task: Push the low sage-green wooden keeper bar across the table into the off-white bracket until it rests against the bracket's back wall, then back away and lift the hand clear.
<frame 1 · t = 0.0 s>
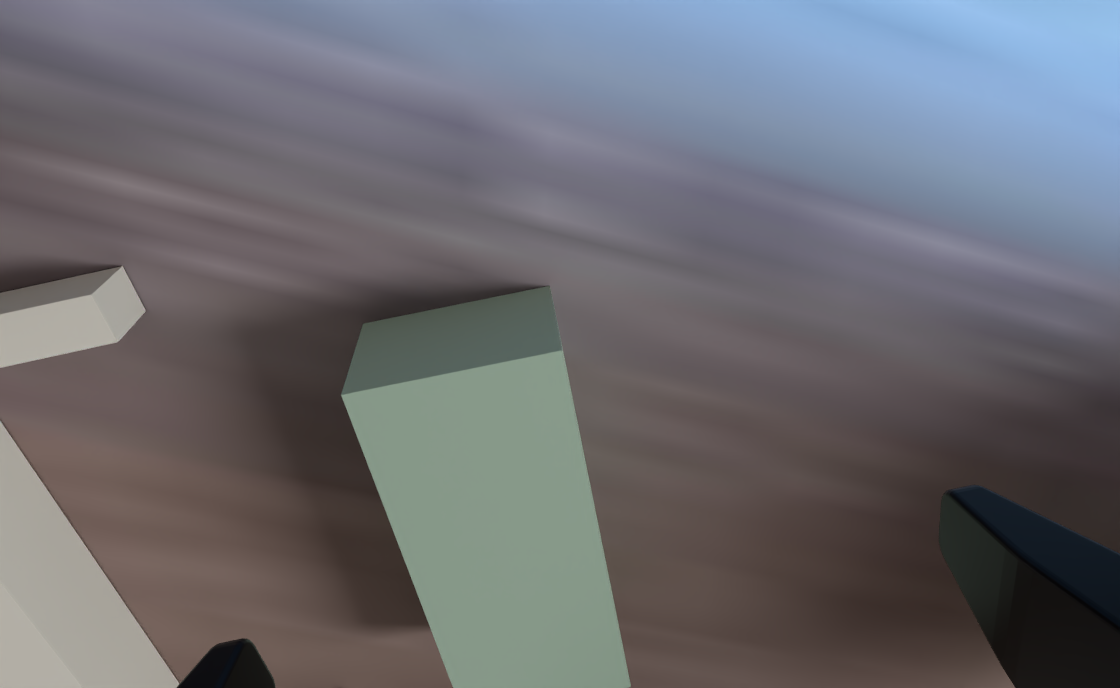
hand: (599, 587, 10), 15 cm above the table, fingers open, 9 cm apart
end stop: (57, 573, 27), on the table
keeper bar: (503, 471, 27), on the table
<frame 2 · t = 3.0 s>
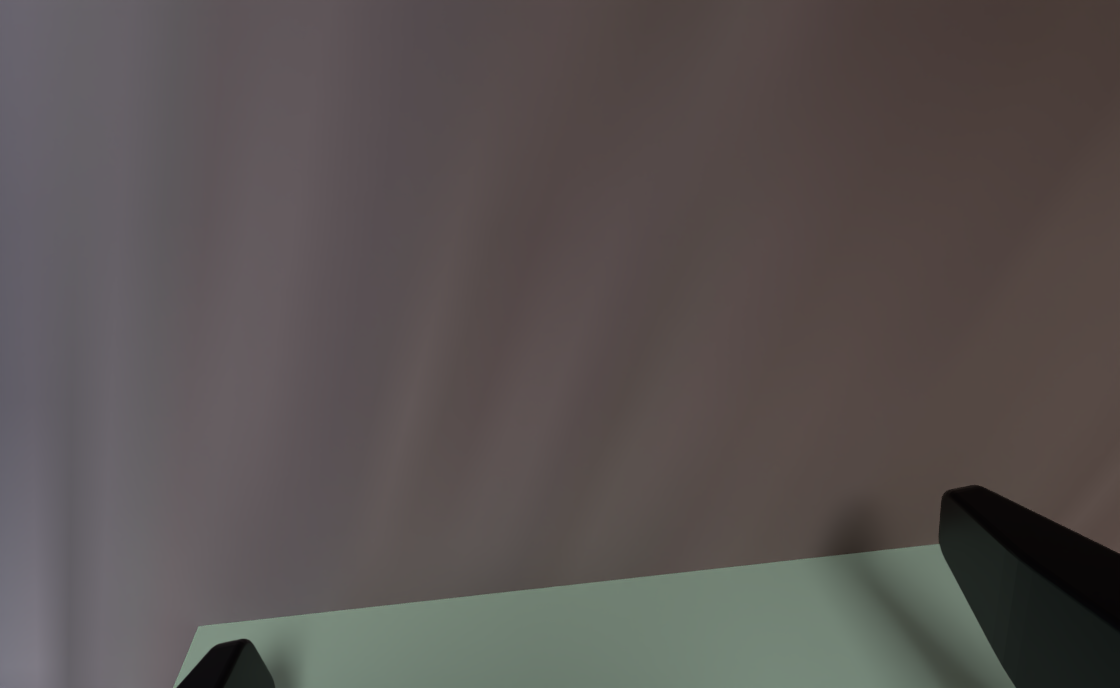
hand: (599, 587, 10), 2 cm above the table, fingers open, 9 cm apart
keeper bar: (630, 686, 14), on the table, touching gripper
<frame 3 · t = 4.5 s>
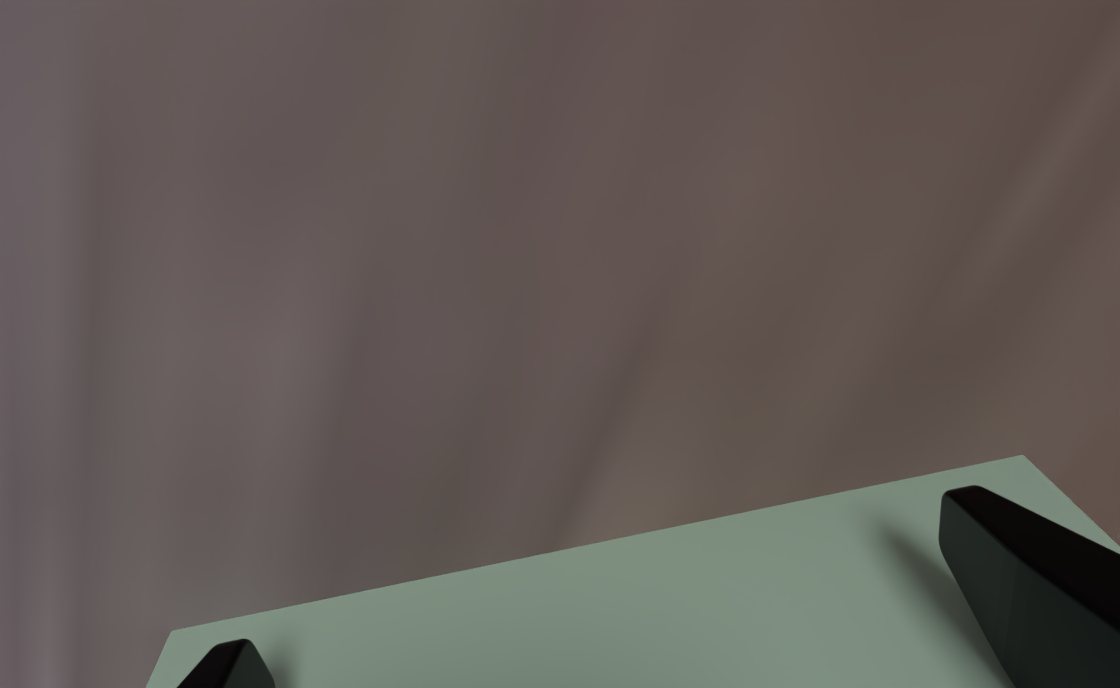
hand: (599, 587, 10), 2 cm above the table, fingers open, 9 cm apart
keeper bar: (619, 652, 14), on the table, touching gripper
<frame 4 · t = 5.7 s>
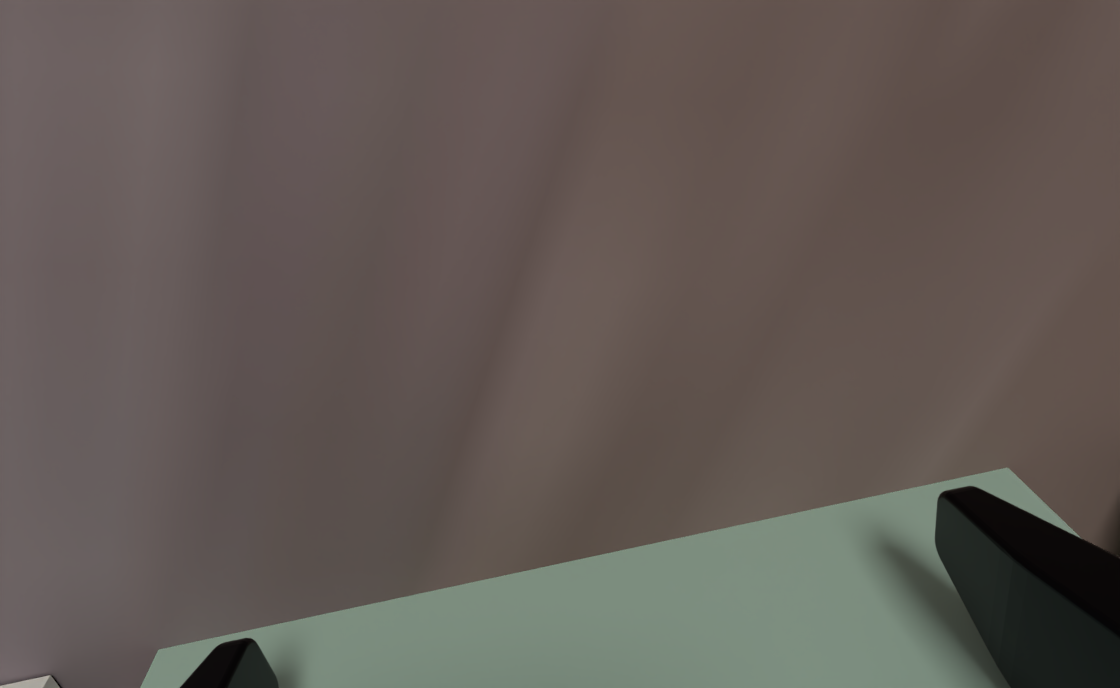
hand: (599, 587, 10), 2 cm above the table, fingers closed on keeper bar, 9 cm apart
keeper bar: (610, 680, 14), on the table, touching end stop, gripper
when the fingers open (2 cm above the table, at t = 6.5 s): keeper bar stays where it is, on the table.
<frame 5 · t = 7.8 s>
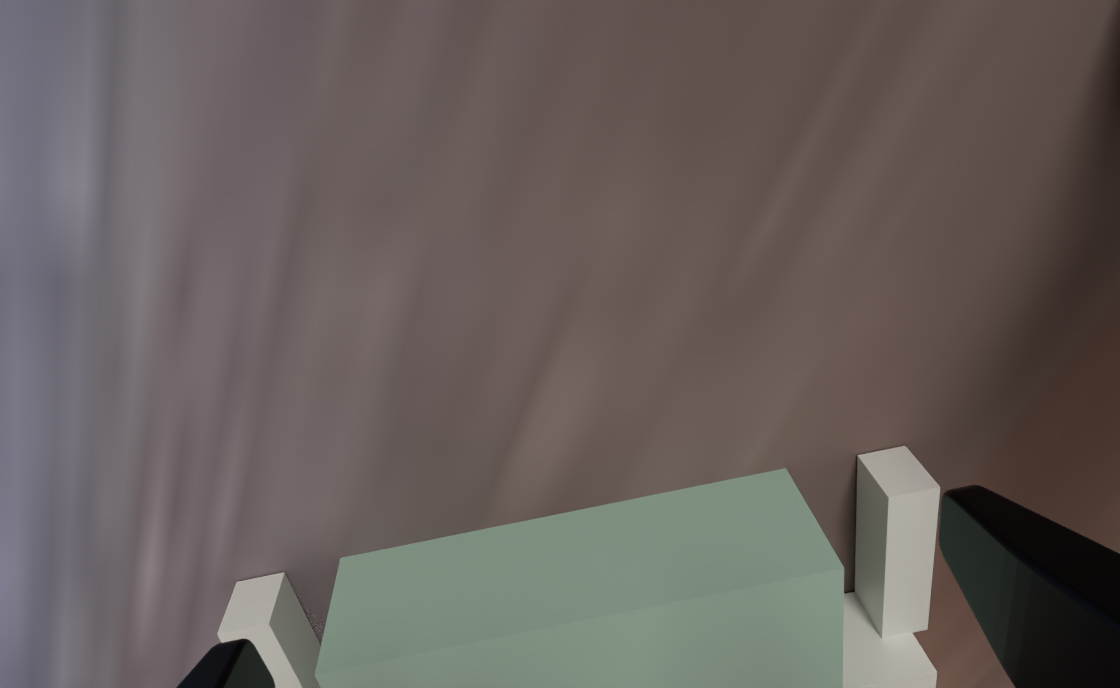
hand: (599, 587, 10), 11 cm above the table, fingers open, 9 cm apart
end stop: (606, 671, 27), on the table
keeper bar: (577, 575, 25), on the table
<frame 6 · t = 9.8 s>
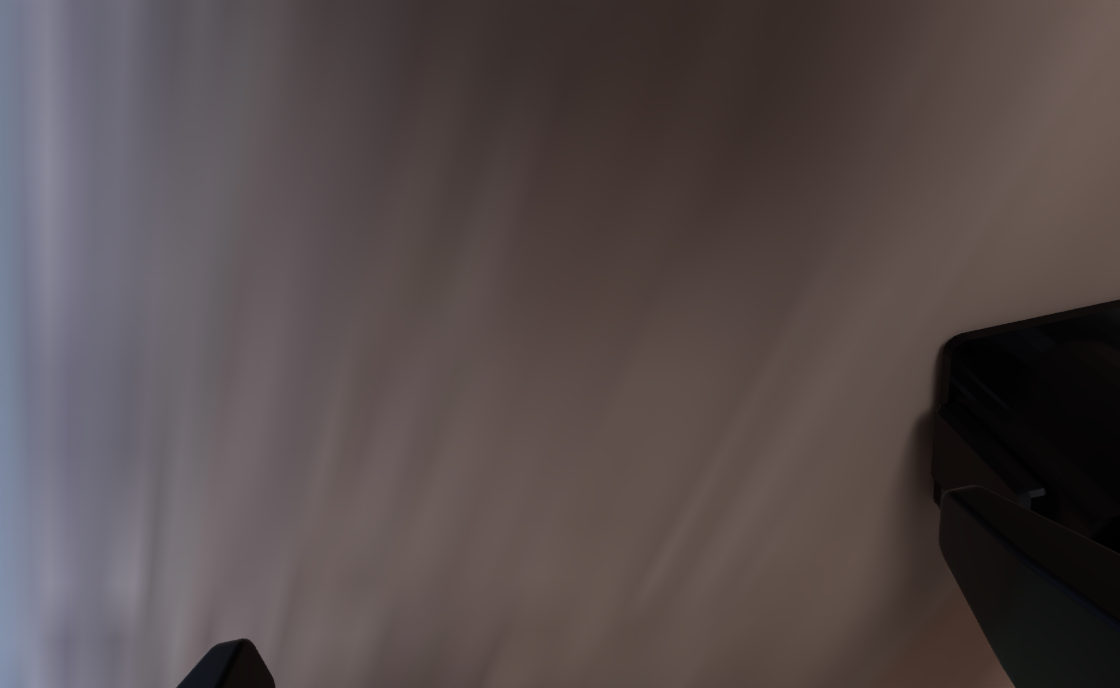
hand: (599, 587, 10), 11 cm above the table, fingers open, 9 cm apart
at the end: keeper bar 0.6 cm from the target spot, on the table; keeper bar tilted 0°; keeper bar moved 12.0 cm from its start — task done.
